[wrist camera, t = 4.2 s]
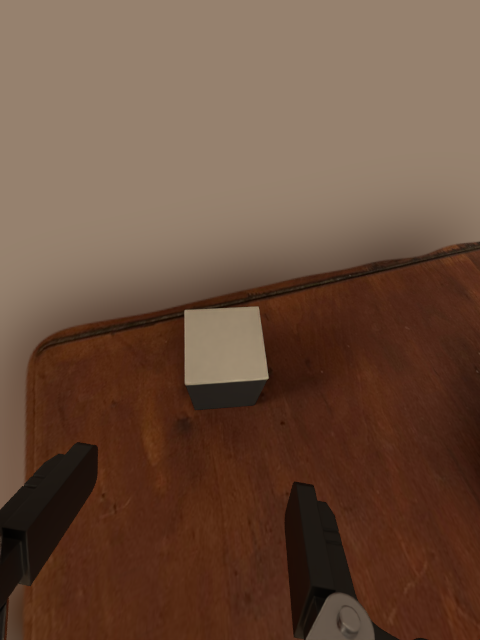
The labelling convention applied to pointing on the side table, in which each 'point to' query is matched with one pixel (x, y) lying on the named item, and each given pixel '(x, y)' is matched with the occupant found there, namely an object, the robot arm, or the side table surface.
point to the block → (224, 357)
